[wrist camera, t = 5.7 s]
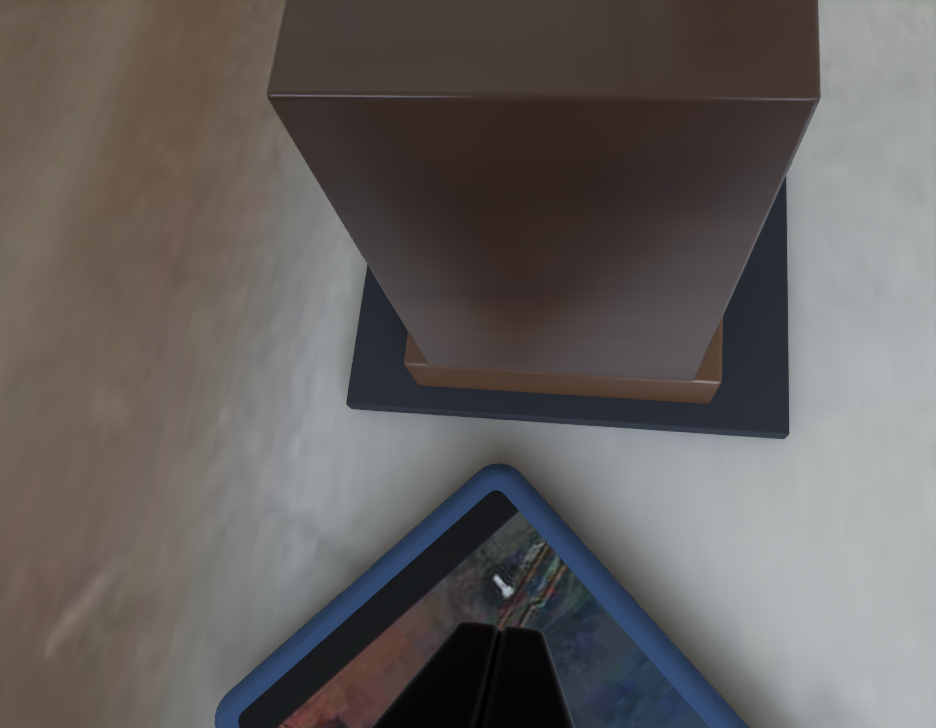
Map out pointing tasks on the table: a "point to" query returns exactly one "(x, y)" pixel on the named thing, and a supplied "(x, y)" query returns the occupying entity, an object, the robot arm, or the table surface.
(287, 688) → the smartphone
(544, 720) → the robot arm
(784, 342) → the word mat
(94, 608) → the table surface
